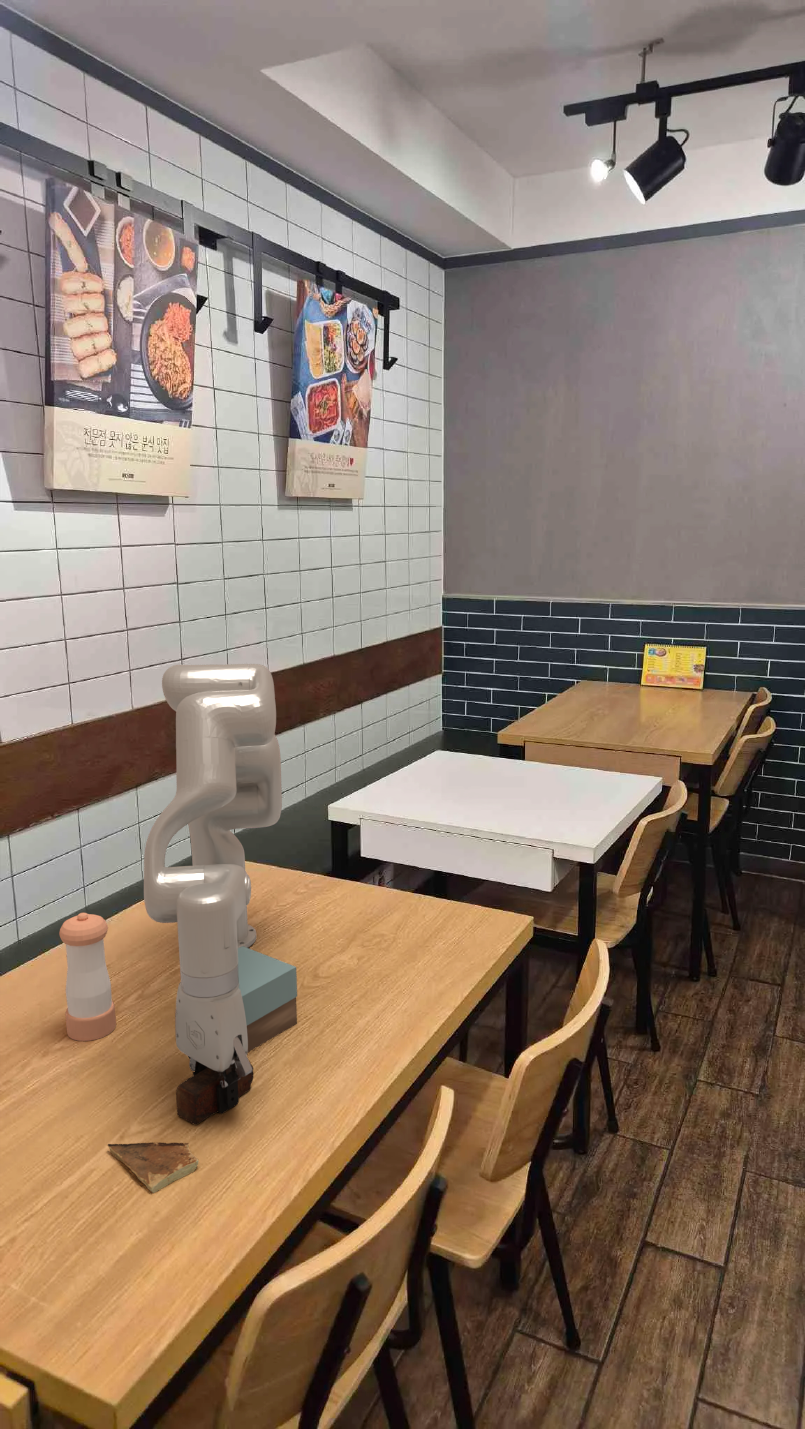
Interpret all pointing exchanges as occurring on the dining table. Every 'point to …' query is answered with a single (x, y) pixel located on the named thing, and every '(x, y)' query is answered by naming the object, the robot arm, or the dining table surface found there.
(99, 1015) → the salt shaker
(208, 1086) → the brick
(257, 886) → the dining table surface
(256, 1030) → the tower base
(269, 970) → the tower top
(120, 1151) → the shard
